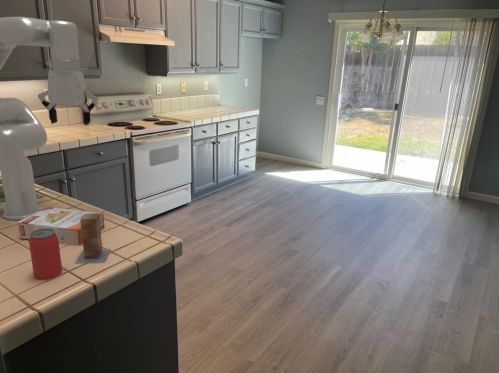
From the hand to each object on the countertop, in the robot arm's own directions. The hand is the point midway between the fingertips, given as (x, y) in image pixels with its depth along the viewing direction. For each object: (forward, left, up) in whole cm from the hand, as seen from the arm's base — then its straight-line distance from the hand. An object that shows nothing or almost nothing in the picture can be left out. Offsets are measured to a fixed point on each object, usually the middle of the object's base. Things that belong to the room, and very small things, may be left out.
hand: (70, 123), depth 119 cm
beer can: (+1, -32, -35) cm, 47 cm away
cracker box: (+7, -10, -31) cm, 34 cm away
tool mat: (+10, -23, -35) cm, 43 cm away
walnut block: (+10, -23, -34) cm, 42 cm away
